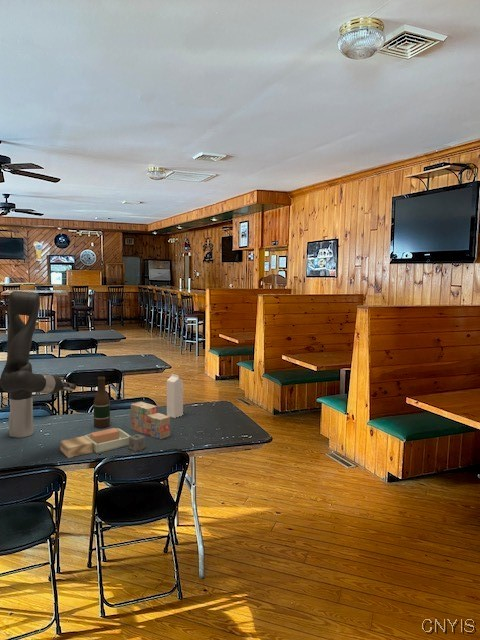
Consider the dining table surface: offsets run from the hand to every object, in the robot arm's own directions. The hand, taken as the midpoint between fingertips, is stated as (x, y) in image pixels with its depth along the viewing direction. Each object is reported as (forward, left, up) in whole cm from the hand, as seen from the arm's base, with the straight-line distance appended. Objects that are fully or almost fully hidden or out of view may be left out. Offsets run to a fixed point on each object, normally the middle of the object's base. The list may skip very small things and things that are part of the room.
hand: (74, 386), depth 200 cm
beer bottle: (+8, +19, -25) cm, 32 cm away
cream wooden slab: (+2, -12, -24) cm, 27 cm away
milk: (+43, +31, -25) cm, 59 cm away
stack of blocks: (+32, +8, -25) cm, 41 cm away
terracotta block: (+8, -8, -21) cm, 24 cm away
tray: (+14, -5, -24) cm, 29 cm away
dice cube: (+27, -11, -25) cm, 38 cm away
